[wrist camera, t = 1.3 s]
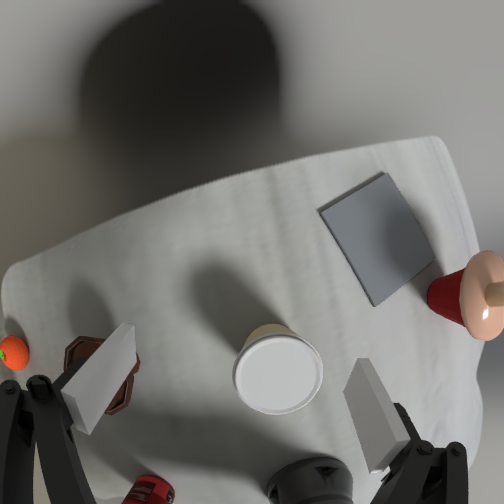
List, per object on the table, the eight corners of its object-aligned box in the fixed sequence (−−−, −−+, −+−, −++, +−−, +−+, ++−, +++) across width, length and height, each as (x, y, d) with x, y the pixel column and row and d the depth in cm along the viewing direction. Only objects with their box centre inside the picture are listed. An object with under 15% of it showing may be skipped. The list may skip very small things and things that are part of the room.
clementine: (14, 359, 36) (-7, 365, 29) (12, 328, 37) (-11, 332, 30) (36, 371, 36) (14, 379, 29) (34, 338, 37) (9, 343, 30)
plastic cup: (459, 261, 38) (505, 255, 26) (458, 321, 36) (503, 328, 25) (414, 262, 38) (462, 255, 26) (413, 329, 37) (460, 342, 25)
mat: (432, 257, 38) (435, 257, 37) (373, 306, 37) (375, 306, 36) (385, 174, 39) (387, 172, 38) (319, 213, 39) (321, 212, 38)
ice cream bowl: (113, 312, 37) (52, 323, 22) (168, 358, 37) (125, 395, 22) (87, 359, 36) (30, 383, 22) (138, 403, 36) (93, 446, 21)
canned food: (167, 503, 33) (153, 537, 22) (132, 484, 34) (112, 515, 23) (182, 488, 34) (169, 525, 23) (144, 467, 34) (123, 501, 23)
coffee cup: (303, 378, 36) (321, 414, 24) (238, 379, 36) (232, 417, 24) (305, 316, 37) (327, 332, 25) (238, 317, 37) (231, 333, 25)
